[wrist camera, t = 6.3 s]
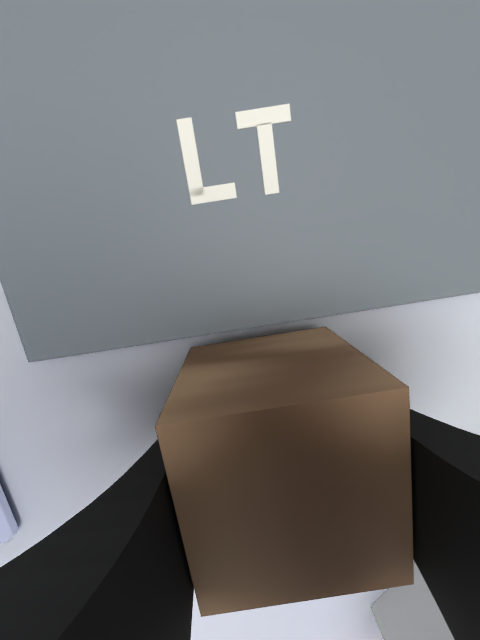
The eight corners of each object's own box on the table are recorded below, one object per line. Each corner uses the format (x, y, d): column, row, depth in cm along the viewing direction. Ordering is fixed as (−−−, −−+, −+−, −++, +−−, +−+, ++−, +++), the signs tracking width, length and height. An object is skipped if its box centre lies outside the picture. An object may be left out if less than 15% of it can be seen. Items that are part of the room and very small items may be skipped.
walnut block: (214, 464, 11) (201, 616, 7) (190, 347, 10) (154, 426, 6) (336, 445, 11) (414, 584, 7) (325, 326, 10) (408, 386, 6)
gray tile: (33, 359, 11) (28, 362, 11) (-92, -9, 9) (-105, -19, 8) (479, 290, 11) (486, 291, 11) (496, -102, 9) (507, -116, 8)
